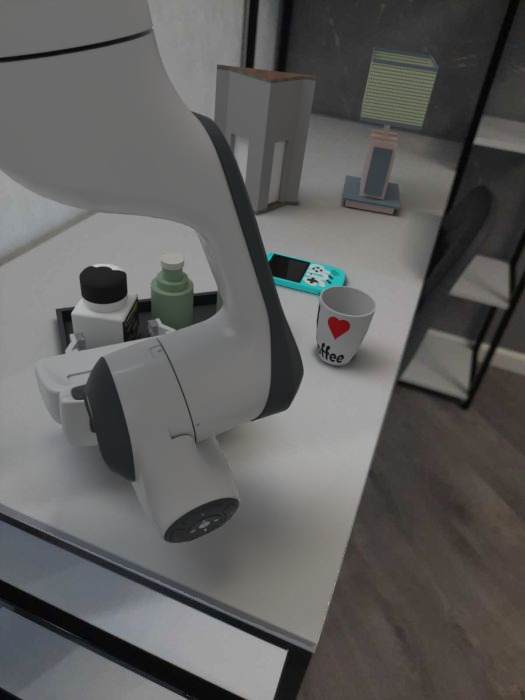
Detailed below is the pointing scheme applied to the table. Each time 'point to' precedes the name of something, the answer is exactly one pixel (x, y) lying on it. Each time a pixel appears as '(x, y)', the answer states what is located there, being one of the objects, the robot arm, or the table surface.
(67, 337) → the tray
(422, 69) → the desk lamp
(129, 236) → the table surface
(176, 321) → the near bottle
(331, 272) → the handheld game console
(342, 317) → the cup
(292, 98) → the grey toy building
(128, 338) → the medicine bottle
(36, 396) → the table surface
